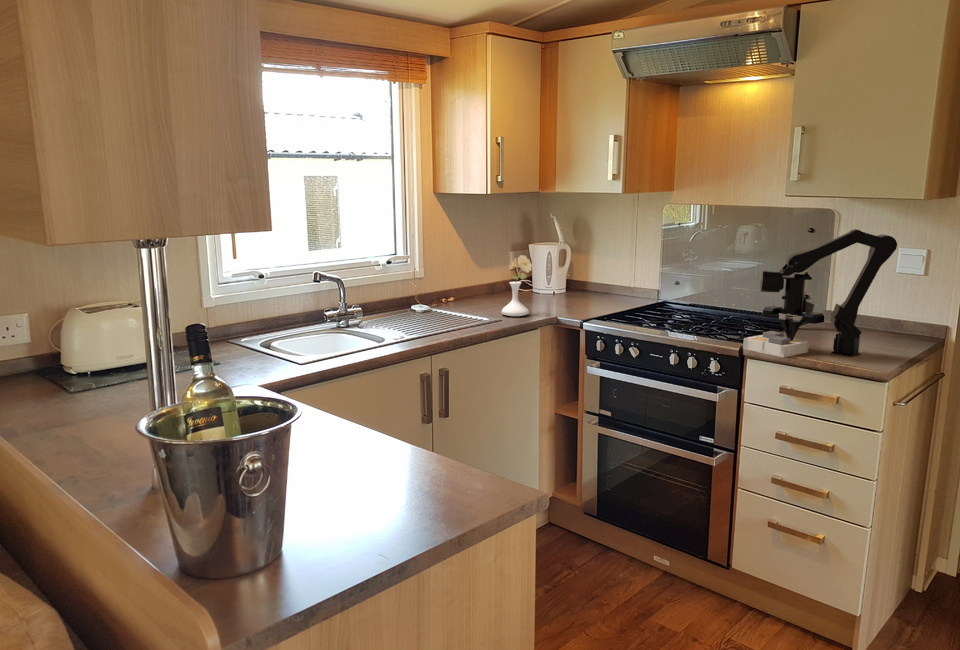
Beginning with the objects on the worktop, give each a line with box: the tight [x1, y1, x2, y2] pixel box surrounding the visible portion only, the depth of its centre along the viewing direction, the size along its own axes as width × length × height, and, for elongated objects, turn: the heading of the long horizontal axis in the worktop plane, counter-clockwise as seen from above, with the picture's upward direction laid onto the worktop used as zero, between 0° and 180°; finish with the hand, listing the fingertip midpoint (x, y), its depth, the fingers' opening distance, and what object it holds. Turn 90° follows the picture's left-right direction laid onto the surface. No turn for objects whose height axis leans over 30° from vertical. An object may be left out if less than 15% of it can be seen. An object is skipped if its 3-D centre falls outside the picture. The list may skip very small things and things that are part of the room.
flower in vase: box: [501, 254, 533, 317], centre depth 300 cm, size 13×11×25 cm
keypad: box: [742, 334, 810, 358], centre depth 239 cm, size 15×13×4 cm
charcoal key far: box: [762, 330, 785, 338], centre depth 243 cm, size 5×5×3 cm
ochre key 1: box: [753, 337, 769, 342], centre depth 240 cm, size 5×5×3 cm
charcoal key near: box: [768, 336, 790, 345], centre depth 234 cm, size 5×5×3 cm
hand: (790, 340), depth 238 cm, fingers closed, pressing on ochre key 2
